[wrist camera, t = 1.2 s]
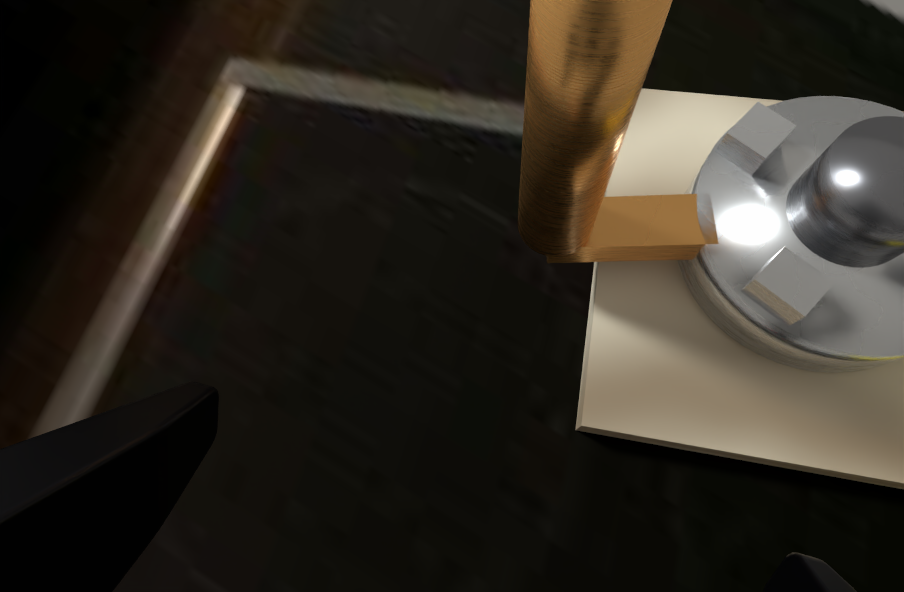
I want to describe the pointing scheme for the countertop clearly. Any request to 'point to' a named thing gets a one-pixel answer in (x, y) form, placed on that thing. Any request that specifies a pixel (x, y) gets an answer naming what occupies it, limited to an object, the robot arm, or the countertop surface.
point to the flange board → (716, 340)
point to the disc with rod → (721, 195)
